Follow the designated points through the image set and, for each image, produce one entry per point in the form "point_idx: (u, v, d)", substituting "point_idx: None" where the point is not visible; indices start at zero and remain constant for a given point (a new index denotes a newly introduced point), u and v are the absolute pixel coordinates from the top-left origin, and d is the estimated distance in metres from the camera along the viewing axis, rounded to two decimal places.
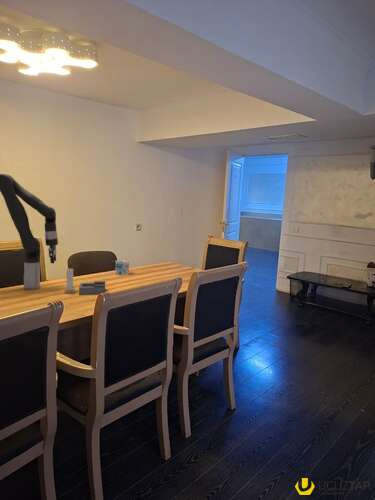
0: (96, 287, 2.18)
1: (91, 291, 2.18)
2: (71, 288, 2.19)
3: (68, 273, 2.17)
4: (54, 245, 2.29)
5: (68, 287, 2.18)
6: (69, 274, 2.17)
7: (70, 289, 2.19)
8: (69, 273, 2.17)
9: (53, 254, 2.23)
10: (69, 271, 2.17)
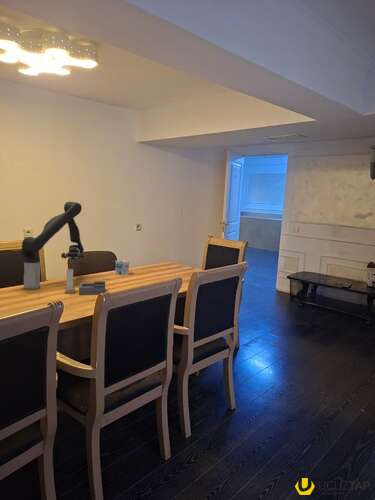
0: (96, 287, 2.18)
1: (91, 291, 2.18)
2: (71, 288, 2.19)
3: (68, 273, 2.17)
4: None
5: (68, 287, 2.18)
6: (69, 274, 2.17)
7: (70, 289, 2.19)
8: (69, 273, 2.17)
9: None
10: (69, 271, 2.17)
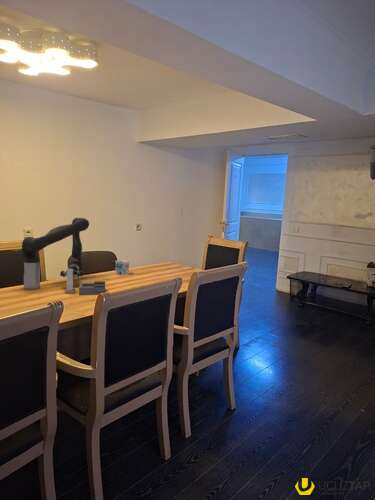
0: (96, 287, 2.18)
1: (91, 291, 2.18)
2: (71, 288, 2.19)
3: (68, 273, 2.17)
4: None
5: (68, 287, 2.18)
6: (69, 274, 2.17)
7: (70, 289, 2.19)
8: (69, 273, 2.17)
9: None
10: (69, 271, 2.17)
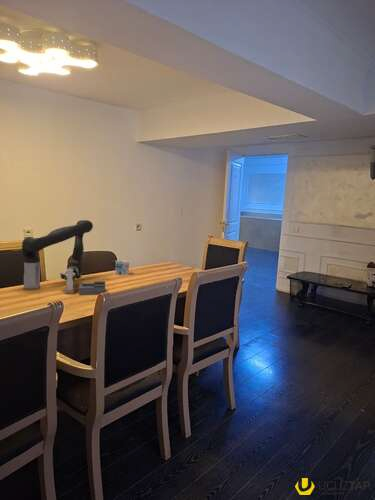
0: (96, 287, 2.18)
1: (91, 291, 2.18)
2: (71, 288, 2.19)
3: (68, 273, 2.17)
4: None
5: (68, 287, 2.18)
6: (69, 274, 2.17)
7: (70, 289, 2.19)
8: (69, 273, 2.17)
9: None
10: (69, 271, 2.17)
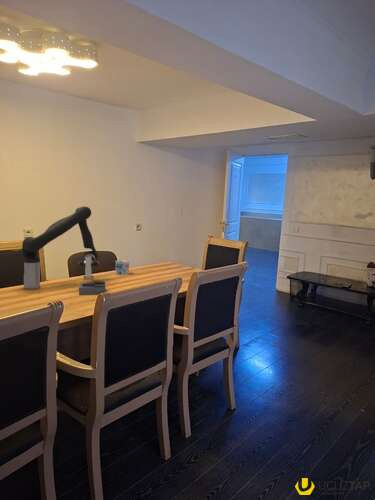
0: (96, 287, 2.18)
1: (91, 291, 2.18)
2: (90, 275, 2.20)
3: (87, 260, 2.18)
4: None
5: (87, 274, 2.20)
6: (88, 261, 2.19)
7: (89, 276, 2.20)
8: (88, 260, 2.19)
9: (93, 265, 2.24)
10: (88, 258, 2.18)
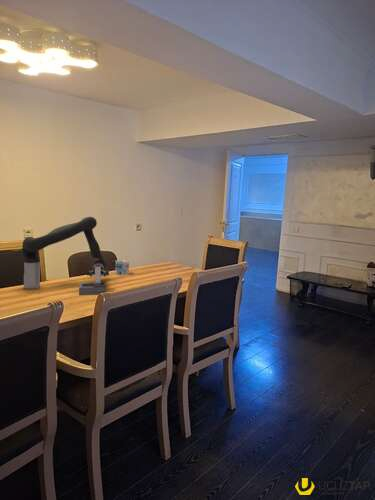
0: (96, 287, 2.18)
1: (91, 291, 2.18)
2: None
3: (96, 270, 2.21)
4: None
5: None
6: (98, 271, 2.21)
7: None
8: (97, 270, 2.21)
9: None
10: (97, 269, 2.21)
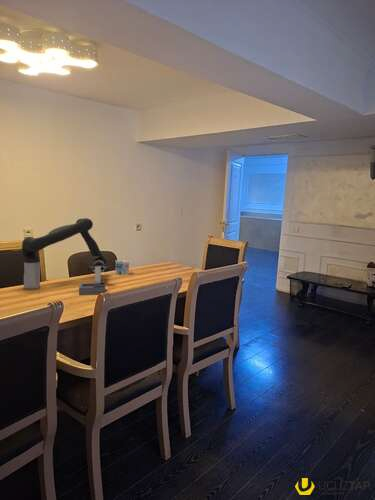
0: (96, 287, 2.18)
1: (91, 291, 2.18)
2: None
3: (96, 270, 2.21)
4: None
5: None
6: (98, 271, 2.21)
7: None
8: (97, 270, 2.21)
9: None
10: (97, 269, 2.21)
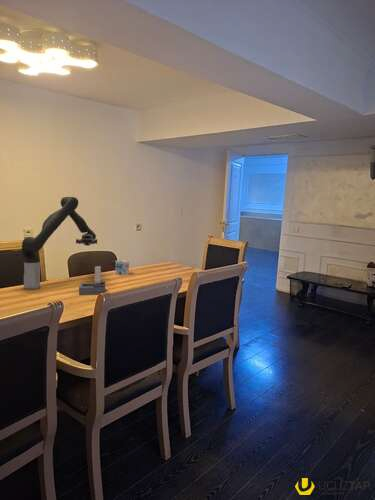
0: (96, 287, 2.18)
1: (91, 291, 2.18)
2: None
3: (96, 270, 2.21)
4: None
5: None
6: (98, 271, 2.21)
7: None
8: (97, 270, 2.21)
9: None
10: (97, 269, 2.21)
